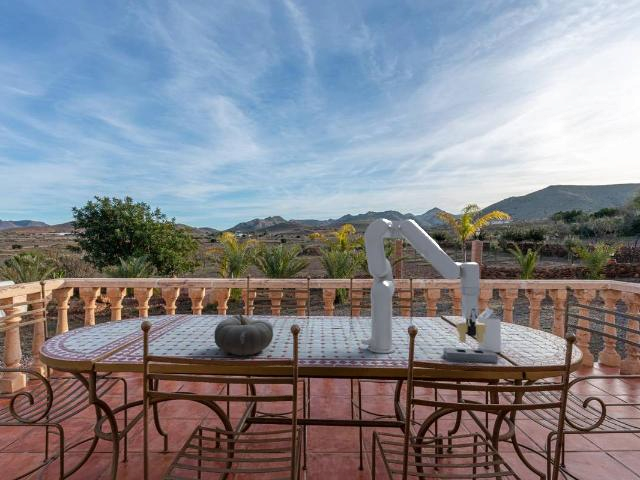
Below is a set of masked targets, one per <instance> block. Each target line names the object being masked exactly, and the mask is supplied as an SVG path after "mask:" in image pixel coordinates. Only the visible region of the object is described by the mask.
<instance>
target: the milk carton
mask: <svg viewBox="0 0 640 480" xmlns="http://www.w3.org/2000/svg"><path fill="white" fill-rule="evenodd" d="M477 321H478V322H477V323H484V324H485V325H486V333H483V343H481V342H477V345H478V346H477V348H478V349H480V350H492V351H493V352H494V353H501V352H502V351H501V350H502V349H501V348H502V347H501V342H502V341H501V340H502V337H501V335H502V334H501V333H502V330H501V329H502V327H501V326H502V325H501V324H502V323H501V318H500V317H499V316H497V315H496V314H495V312H494V309H490V308H487V307H486V308H485V310H483V312H481V313H480V314H478V319H477Z"/></svg>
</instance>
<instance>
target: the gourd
mask: <svg viewBox="0 0 640 480" xmlns="http://www.w3.org/2000/svg"><path fill="white" fill-rule="evenodd" d="M213 334H214V343H215V345H216V346H217V348H219V349H220V350H221V351H222V352H223V353H227V354H232V355H233V356H234V355H235V356H244V357H245V356H251V355H252V356H253V355H255V354H258V353H260V352H262V351H263V350H265V349H267V348H268V347H269V346H270V344H271V343H272V341H273V338H274V329H273V325H272V323H271V322H270V321H268V320H266V319H253V318H252V317H249V316H245V315H243V314H242V313H241V312H240V313H239V314H233V315H232V316H229V317H228V318H226V319H224V320H221V321H220V322H219V323H218V324H217V325H216V327H215V329H214V333H213Z"/></svg>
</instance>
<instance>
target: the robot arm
mask: <svg viewBox="0 0 640 480" xmlns="http://www.w3.org/2000/svg"><path fill="white" fill-rule="evenodd" d="M384 238H386V239H405V241H406V242H407V243H409V245H410V246H411V247H413V249H414V250H416V251H417V253H418V254H420V256H421V257H422V258H424V260H426V261H427V262H428V263H429V264H430V265H431V266H432V267H433V268H434V269H435V270H436V271H437V272H438V273H439V274H440V275H441V276H442V277H443V278H445V279H446V280H448V281H455V280H456V279H460V280H459V281H460V295H462V296H461V316H462V317H463V318H464V319H465V323H468V333H466V335H467V336H469V337H476V323H477V320H478V316H479V300H478V299H479V298H478V296H480V294H481V293H480V291H481V290H480V265H479V263H477V262H469V261H468V262H455V261H454V260H453V259H452V258H451V257H450V256H449V254H447V253H445V252H444V250H443V249H442V248H441V247H440V245H439V244H438V243H437V242H436V241H435V240H434V239H433V238H432V237H431V236H430V235H429V234H428V233H427V232H426V231H425V230H424V229H422V227H421V226H419V225H418V223H416V222H415V220H414V219H404V220H388V219H386V218H383V217H382V218H377V219H375V220H373V221H372V222H371V223H370V224H369V225H368V226H367V227H366V230H365V231H364V247H365V254H366V261H367V269H368V273H369V274H370V276H372V278H373V282H374V283H373V284H372V285H371V289H370V309H371V311H370V312H371V313H370V315H371V316H370V317H371V319H370V323H371V326H370V328H371V329H370V339H369V338H368V339H361V340H360V341H361V342H360V344H361V345H364V346H365V345H366V346H367V351H370V352H373V353H377V354H391V353H393V352H395V351H396V347H395V346H394V345H393V295H394V293H395V291H396V287H395V281H394V276H393V268H392V266H391V262H390V261H389V260H388V259H387V257H386V252H385V245H384V242H383V241H384Z"/></svg>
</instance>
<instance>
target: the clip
mask: <svg viewBox="0 0 640 480" xmlns="http://www.w3.org/2000/svg"><path fill="white" fill-rule="evenodd" d="M456 332H457V333H458V336H459V337H458V338H459V342H461V343H466V342H467V340H466V339H467V337H466V336H467V334H466V333H468V323H466V322H456ZM483 333H486V325H485V324H484V323H478V322H476V336H475V337H476V338H475V339H476V340H475V341H476V342H477V343H478V342H481V343H483Z"/></svg>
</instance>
